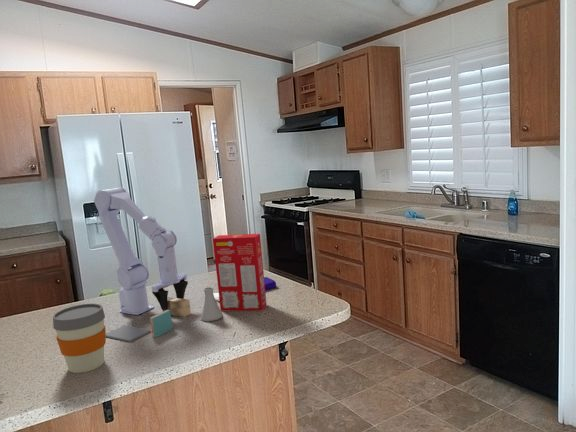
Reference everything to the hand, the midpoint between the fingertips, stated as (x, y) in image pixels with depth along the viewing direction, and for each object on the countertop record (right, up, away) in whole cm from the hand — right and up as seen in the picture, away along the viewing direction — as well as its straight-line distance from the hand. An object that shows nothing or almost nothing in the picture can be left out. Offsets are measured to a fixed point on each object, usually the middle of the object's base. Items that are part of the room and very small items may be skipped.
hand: (172, 305), depth 160 cm
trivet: (-10, -6, -15) cm, 19 cm away
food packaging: (+24, -1, 0) cm, 24 cm away
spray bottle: (+23, +1, +18) cm, 29 cm away
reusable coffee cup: (-15, -9, -34) cm, 38 cm away
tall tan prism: (+1, -3, 0) cm, 3 cm away
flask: (+14, -3, -7) cm, 16 cm away
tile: (+1, -5, -16) cm, 17 cm away
